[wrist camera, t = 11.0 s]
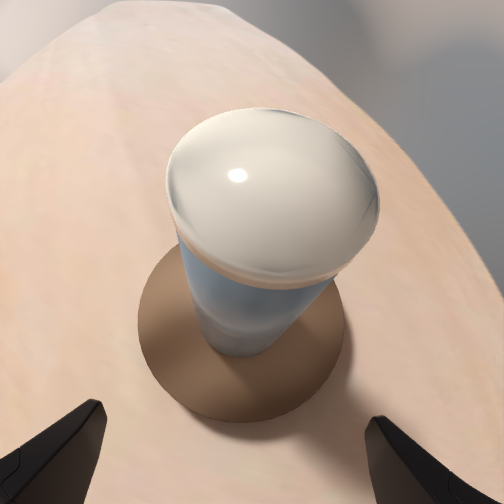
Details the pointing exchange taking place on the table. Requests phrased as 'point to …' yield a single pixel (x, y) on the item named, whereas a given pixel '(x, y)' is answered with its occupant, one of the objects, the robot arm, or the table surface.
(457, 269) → the table surface
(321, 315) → the trivet
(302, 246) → the jar
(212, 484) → the table surface
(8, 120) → the table surface
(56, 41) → the table surface
